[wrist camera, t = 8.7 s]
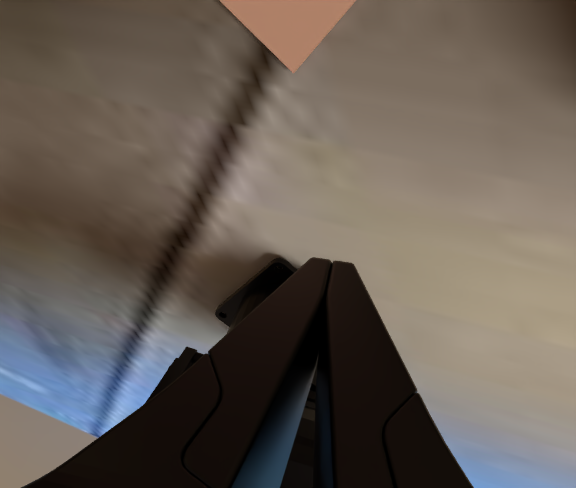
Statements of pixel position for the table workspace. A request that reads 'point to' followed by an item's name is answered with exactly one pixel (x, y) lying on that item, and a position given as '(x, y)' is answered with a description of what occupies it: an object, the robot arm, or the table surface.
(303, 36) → the rubber mat
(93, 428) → the table surface
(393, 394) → the robot arm
